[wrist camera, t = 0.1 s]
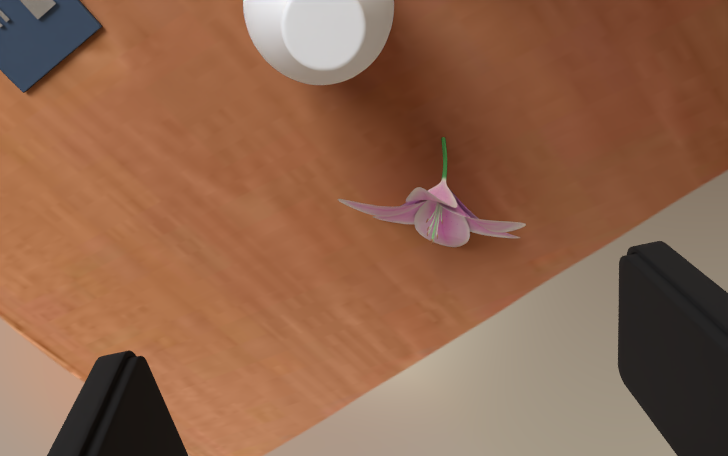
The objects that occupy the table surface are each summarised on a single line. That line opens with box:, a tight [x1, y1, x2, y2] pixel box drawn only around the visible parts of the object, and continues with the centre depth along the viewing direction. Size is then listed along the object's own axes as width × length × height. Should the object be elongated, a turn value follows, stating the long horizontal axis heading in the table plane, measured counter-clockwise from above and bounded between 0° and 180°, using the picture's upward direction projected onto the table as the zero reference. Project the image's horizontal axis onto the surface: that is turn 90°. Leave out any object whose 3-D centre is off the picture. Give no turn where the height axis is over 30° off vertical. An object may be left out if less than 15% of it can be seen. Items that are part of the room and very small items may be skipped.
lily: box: [338, 137, 526, 247], centre depth 40 cm, size 12×12×10 cm
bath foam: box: [243, 0, 394, 85], centre depth 28 cm, size 7×7×20 cm
